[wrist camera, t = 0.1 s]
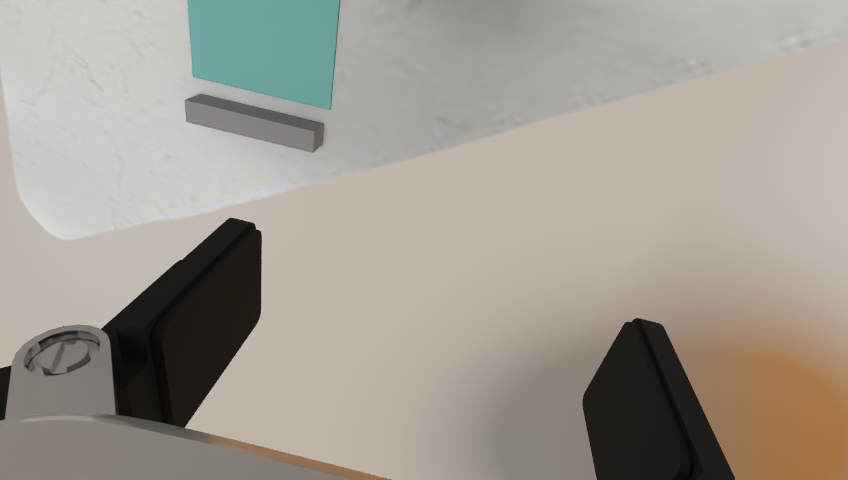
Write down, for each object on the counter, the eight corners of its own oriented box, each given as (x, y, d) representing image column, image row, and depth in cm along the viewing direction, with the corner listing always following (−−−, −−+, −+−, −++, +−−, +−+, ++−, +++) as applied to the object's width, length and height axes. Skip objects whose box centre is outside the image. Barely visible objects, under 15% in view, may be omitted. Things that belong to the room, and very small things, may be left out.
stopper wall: (200, 93, 42) (184, 100, 40) (323, 123, 42) (314, 131, 40) (201, 114, 43) (186, 121, 41) (322, 144, 43) (312, 152, 41)
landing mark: (182, -96, 35) (181, -96, 35) (345, -58, 35) (344, -58, 34) (194, 76, 42) (192, 76, 41) (330, 109, 41) (329, 109, 41)
